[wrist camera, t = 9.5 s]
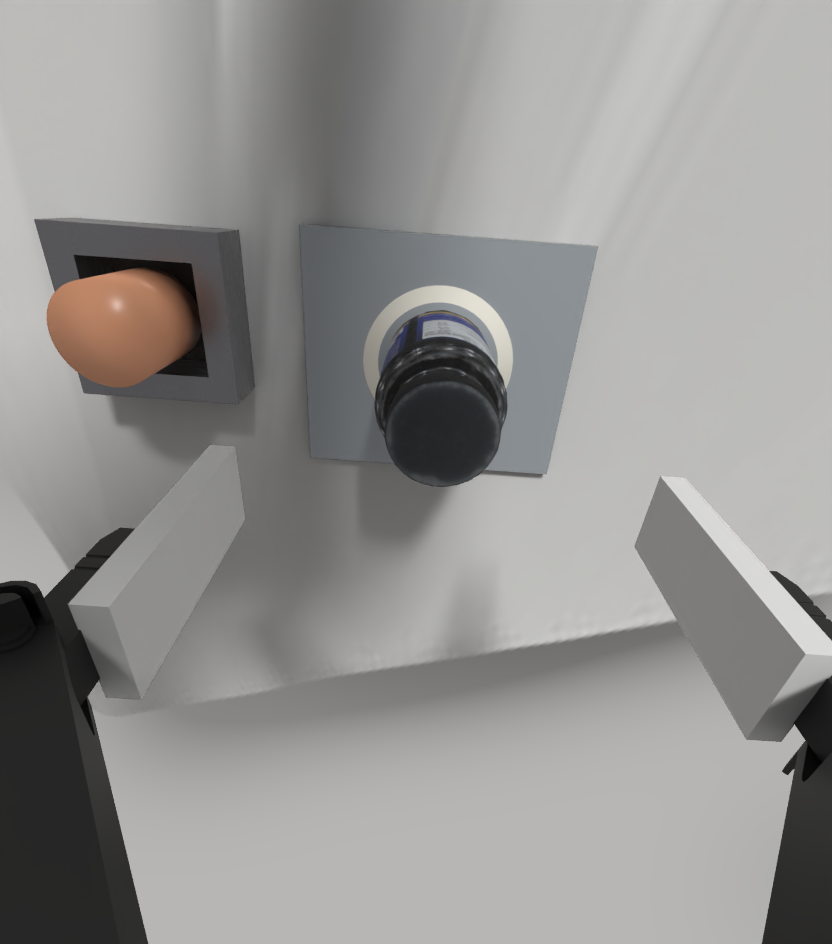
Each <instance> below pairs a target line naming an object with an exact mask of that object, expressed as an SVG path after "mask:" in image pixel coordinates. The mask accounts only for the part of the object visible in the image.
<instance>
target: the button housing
mask: <svg viewBox="0 0 832 944" xmlns="http://www.w3.org/2000/svg"><path fill="white" fill-rule="evenodd" d="M34 220H35V224H36V227H37V231H38V234H39V238H40V241H41V245H42V248H43V252H44V255H45V259H46V262H47V266H48V269H49V273H50V276H51V280H52V283H53V287H54V290H55V292H56V291H57V289H59V288H60V287H61V286H62V285H64V284H66V283H68V282H71V281H74V280H79V279H84V278H89V277H94V276H98V275H103V274H108V273H113V269H112V265H111V260H110V257H112V258H126V259H139V260H153V261H167V262H181V263H192V269H193V275H194V282H195V289H196V295H197V302H198V309H199V315H200V322H201V329H202V335H203V342H204V349H205V355H206V361H201V360H187V359H178V360H176V361H174V362H173V363H171V364H169V365H168V366H166V367H164V368H163V369H161V370H160V371H158V372H156V373H155V374H153V375H151V376H150V377H148V378H146V379H145V380H143V381H141V382H140V383H138V384H135V385H133V386H129V387H109V386H105V385H101V384H98V383H95V382H93V381H91V380H89V379H87V378H86V377H84V376H82V375H81V374H80V373H78V374H79V378H80V381H81V385H82V388H83V392H84V393H87V394H101V395H116V396H130V397H144V398H158V399H172V400H186V401H201V402H215V403H229V404H239V403H240V402H241V401H242V400H243V399H244V398H245V397H246V396H247V395H248V394H249V393H250V392H251V391H252V390H253V389H254V387H255V385H254V375H253V365H252V356H251V346H250V336H249V327H248V317H247V307H246V297H245V288H244V278H243V268H242V259H241V249H240V239H239V230H232V229H219V228H205V227H191V226H178V225H164V224H151V223H137V222H123V221H110V220H96V219H82V218H55V219H34Z"/></svg>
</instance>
